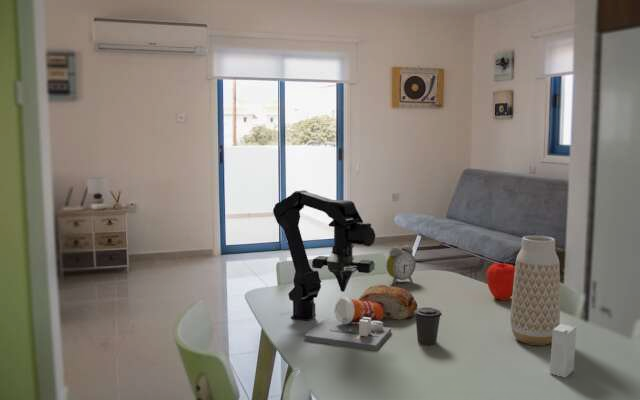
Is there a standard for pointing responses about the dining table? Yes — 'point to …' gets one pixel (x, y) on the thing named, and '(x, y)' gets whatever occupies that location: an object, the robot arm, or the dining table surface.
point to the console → (348, 334)
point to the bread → (391, 301)
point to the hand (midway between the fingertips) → (342, 291)
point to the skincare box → (563, 350)
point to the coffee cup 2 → (427, 325)
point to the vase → (536, 291)
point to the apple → (501, 280)
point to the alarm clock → (401, 263)
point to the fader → (365, 326)
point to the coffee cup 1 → (357, 310)
